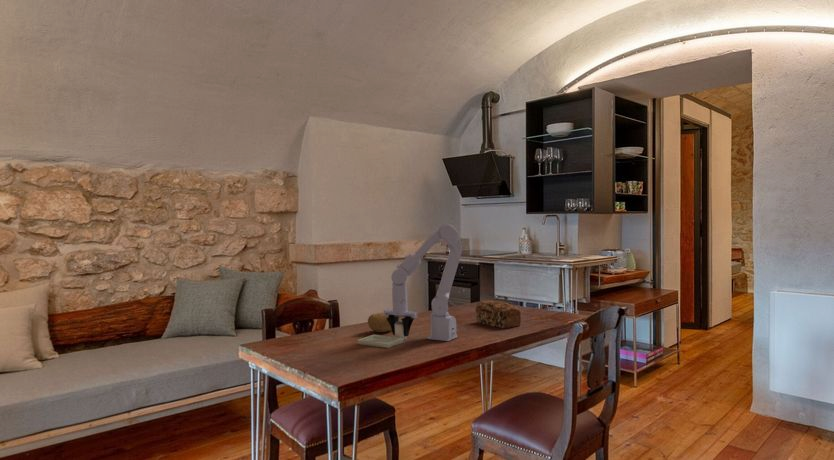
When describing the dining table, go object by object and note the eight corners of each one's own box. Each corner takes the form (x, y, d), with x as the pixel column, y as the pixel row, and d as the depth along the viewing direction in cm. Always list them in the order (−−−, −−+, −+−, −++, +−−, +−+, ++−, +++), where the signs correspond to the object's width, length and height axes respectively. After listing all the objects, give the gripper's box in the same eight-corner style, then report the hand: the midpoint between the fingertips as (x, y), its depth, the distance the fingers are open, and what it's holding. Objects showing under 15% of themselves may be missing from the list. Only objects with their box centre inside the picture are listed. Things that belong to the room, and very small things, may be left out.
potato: (404, 331, 207) (404, 311, 207) (375, 336, 198) (375, 316, 198) (391, 327, 215) (390, 309, 214) (363, 332, 206) (362, 313, 206)
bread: (475, 322, 221) (474, 300, 221) (493, 319, 226) (493, 297, 226) (503, 329, 205) (502, 305, 205) (522, 326, 210) (521, 302, 210)
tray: (403, 342, 187) (403, 338, 187) (388, 348, 178) (387, 343, 178) (373, 338, 194) (373, 334, 194) (357, 344, 186) (357, 339, 186)
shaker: (409, 338, 193) (408, 320, 193) (402, 340, 189) (402, 323, 189) (399, 337, 195) (398, 319, 195) (392, 339, 191) (392, 322, 191)
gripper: (378, 300, 193) (379, 335, 193) (409, 302, 185) (410, 339, 185) (389, 298, 198) (390, 332, 199) (420, 300, 191) (420, 335, 191)
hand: (400, 335), depth 192 cm, fingers closed on shaker, 5 cm apart
